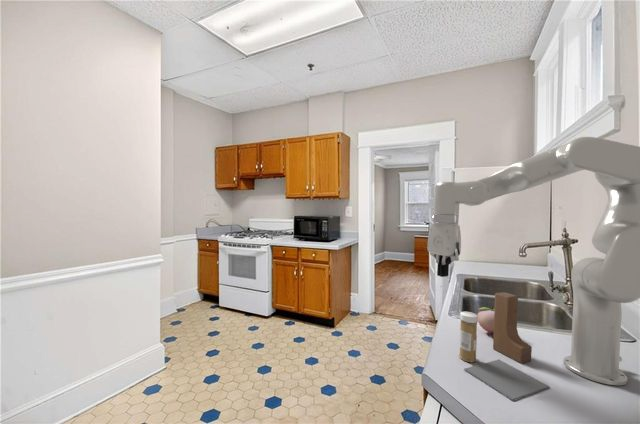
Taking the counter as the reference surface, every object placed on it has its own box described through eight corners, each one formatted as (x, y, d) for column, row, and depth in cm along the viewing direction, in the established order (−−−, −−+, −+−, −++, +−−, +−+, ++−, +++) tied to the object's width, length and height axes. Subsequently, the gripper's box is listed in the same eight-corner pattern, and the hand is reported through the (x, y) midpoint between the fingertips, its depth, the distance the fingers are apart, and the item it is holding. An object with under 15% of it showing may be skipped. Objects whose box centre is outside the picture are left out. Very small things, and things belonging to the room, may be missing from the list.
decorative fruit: (481, 337, 97) (482, 309, 97) (474, 327, 105) (475, 301, 104) (512, 341, 95) (513, 312, 94) (502, 331, 103) (503, 304, 102)
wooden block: (531, 361, 82) (534, 300, 82) (521, 364, 80) (523, 302, 80) (502, 346, 90) (504, 291, 90) (492, 349, 89) (494, 292, 89)
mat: (498, 360, 82) (498, 359, 82) (549, 387, 70) (549, 386, 70) (464, 370, 77) (464, 368, 77) (512, 401, 65) (512, 399, 65)
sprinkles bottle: (479, 362, 81) (481, 316, 81) (466, 363, 80) (468, 317, 80) (468, 354, 85) (469, 310, 85) (455, 355, 84) (456, 311, 84)
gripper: (420, 218, 96) (417, 271, 97) (456, 221, 83) (452, 283, 83) (436, 218, 99) (434, 270, 100) (474, 221, 85) (470, 281, 86)
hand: (442, 275), depth 91 cm, fingers closed
